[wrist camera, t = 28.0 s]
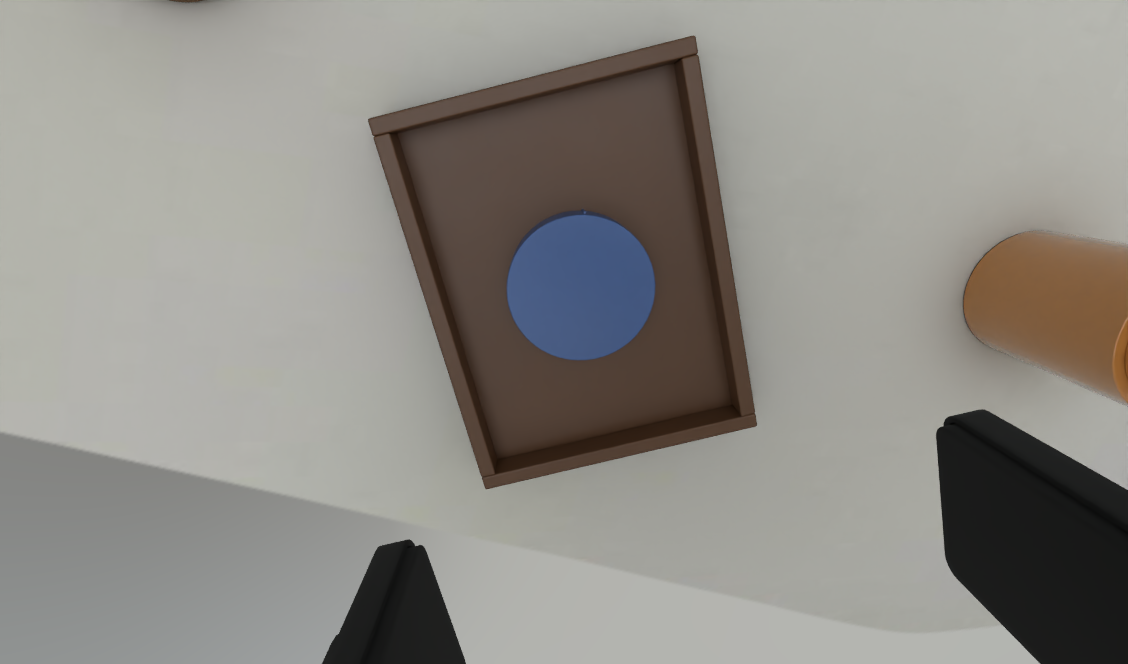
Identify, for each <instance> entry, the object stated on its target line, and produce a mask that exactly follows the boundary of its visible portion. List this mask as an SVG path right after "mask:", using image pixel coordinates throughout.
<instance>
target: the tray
mask: <svg viewBox="0 0 1128 664" xmlns="http://www.w3.org/2000/svg"><path fill="white" fill-rule="evenodd" d="M697 53H698V50H697V44H696V37H695V36H689V37H685V38H681V39H678V40H674V41H670V42H666V43H662V44H658V45H654V46H650V47H646V48H642V49H639V50H635V51H631V52H627V53H623V54H619V55H615V56H611V57H607V58H603V59H599V60H596V61H592V62H588V63H584V64H580V65H576V66H572V67H568V68H564V69H560V70H557V71H553V72H549V73H545V74H541V75H537V76H533V77H529V78H525V79H521V80H518V81H514V82H510V83H506V84H502V85H498V86H494V87H490V88H486V89H482V90H478V91H475V92H471V93H467V94H463V95H459V96H455V97H451V98H447V99H443V100H439V101H436V102H432V103H428V104H424V105H420V106H416V107H412V108H408V109H404V110H400V111H396V112H393V113H389V114H385V115H381V116H377V117H373V118H369V119H368V122H369V125H370V128H371V131H372V135H373V136H375V137H374V141H375V144H376V147H377V151H378V154H379V157H380V160H381V163H382V166H383V169H384V173H385V176H386V179H387V182H388V185H389V188H390V191H391V194H392V198H393V201H394V204H395V207H396V210H397V213H398V216H399V220H400V223H401V226H402V229H403V232H404V235H405V238H406V241H407V245H408V248H409V251H410V254H411V257H412V260H413V263H414V267H415V270H416V273H417V276H418V279H419V282H420V285H421V289H422V292H423V295H424V298H425V301H426V304H427V307H428V310H429V314H430V317H431V320H432V323H433V326H434V329H435V332H436V336H437V339H438V342H439V345H440V348H441V351H442V354H443V357H444V361H445V364H446V367H447V370H448V373H449V376H450V379H451V383H452V386H453V389H454V392H455V395H456V398H457V401H458V405H459V408H460V411H461V414H462V417H463V420H464V423H465V426H466V430H467V433H468V436H469V439H470V442H471V445H472V448H473V452H474V455H475V458H476V461H477V464H478V467H479V470H480V473H481V476H482V480H483V483H484V486H485V488H486V489H489V488H494V487H498V486H502V485H507V484H511V483H515V482H519V481H524V480H528V479H532V478H537V477H541V476H545V475H549V474H554V473H558V472H562V471H567V470H571V469H575V468H579V467H584V466H588V465H592V464H597V463H601V462H605V461H609V460H614V459H618V458H622V457H627V456H631V455H635V454H639V453H644V452H648V451H652V450H657V449H661V448H665V447H669V446H674V445H678V444H682V443H687V442H691V441H695V440H699V439H704V438H708V437H712V436H717V435H721V434H725V433H729V432H734V431H738V430H742V429H747V428H751V427H755V426H757V422H756V415H755V409H754V403H753V397H752V390H751V384H750V378H749V371H748V365H747V359H746V352H745V346H744V340H743V334H742V327H741V321H740V315H739V308H738V302H737V296H736V289H735V283H734V277H733V271H732V264H731V258H730V252H729V245H728V239H727V233H726V226H725V220H724V214H723V207H722V201H721V195H720V189H719V182H718V176H717V170H716V163H715V157H714V151H713V144H712V138H711V132H710V126H709V119H708V113H707V107H706V100H705V94H704V88H703V81H702V75H701V69H700V63H699V56H698V55H696V54H697ZM582 209H584V210H585V211H591V212H596V213H600V214H603V215H605V216H608V217H610V218H612V219H614V220H615V221H617V222H619V223H620V224H621V225H623V226H624V227H625V228H626V229H627V230H629V231H630V232H631V233H632V234H633V235H634V236H635V237H636V238H637V239H638V240H639V242H640V243H641V244H642V246H643V247H644V249H645V250H646V252H647V254H648V256H649V258H650V261H651V263H652V267H653V271H654V276H655V296H654V302H653V306H652V309H651V312H650V314H649V317H648V319H647V321H646V322H645V324H644V326H643V327H642V329H641V330H640V331H639V333H638V334H637V335H636V336H635V337H634V338H633V339H632V340H631V341H630V342H629V343H627V344H626V345H625V346H624V347H622V348H621V349H619V350H617V351H615V352H614V353H611V354H609V355H606V356H604V357H600V358H597V359H591V360H568V359H563V358H559V357H556V356H553V355H550V354H548V353H546V352H544V351H542V350H541V349H539V348H538V347H536V346H535V345H534V344H532V343H531V342H530V341H529V340H528V339H527V338H526V337H525V336H524V335H523V333H522V332H521V331H520V330H519V328H518V327H517V325H516V323H515V321H514V319H513V317H512V315H511V312H510V309H509V306H508V300H507V288H506V287H507V277H508V272H509V268H510V264H511V261H512V258H513V255H514V253H515V251H516V249H517V247H518V245H519V243H520V242H521V240H522V239H523V238H524V236H525V235H526V234H527V233H528V232H529V231H530V230H531V229H532V228H533V227H535V226H536V225H537V224H538V223H540V222H542V221H543V220H545V219H547V218H549V217H551V216H553V215H556V214H559V213H563V212H568V211H582Z"/></svg>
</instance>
